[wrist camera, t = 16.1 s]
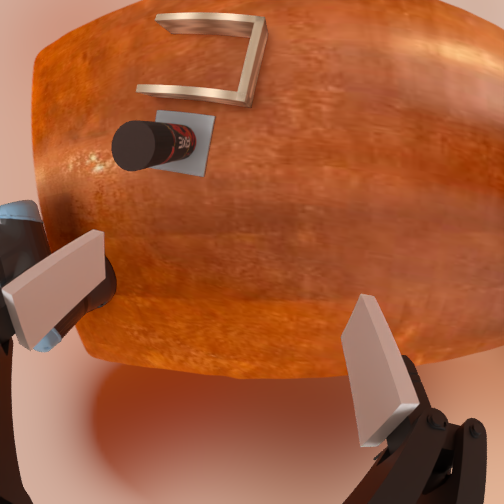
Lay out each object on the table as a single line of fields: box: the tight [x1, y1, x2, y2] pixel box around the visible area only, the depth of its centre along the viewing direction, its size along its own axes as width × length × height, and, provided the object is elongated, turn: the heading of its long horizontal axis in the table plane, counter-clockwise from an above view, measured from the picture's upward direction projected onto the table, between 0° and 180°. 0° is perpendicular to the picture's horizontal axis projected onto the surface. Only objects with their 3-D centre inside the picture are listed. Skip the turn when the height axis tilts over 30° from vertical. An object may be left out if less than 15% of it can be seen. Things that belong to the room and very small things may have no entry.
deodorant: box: [112, 121, 196, 171], centre depth 34 cm, size 6×6×15 cm
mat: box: [149, 110, 216, 177], centre depth 42 cm, size 10×10×1 cm
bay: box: [136, 13, 268, 108], centre depth 33 cm, size 16×13×7 cm
